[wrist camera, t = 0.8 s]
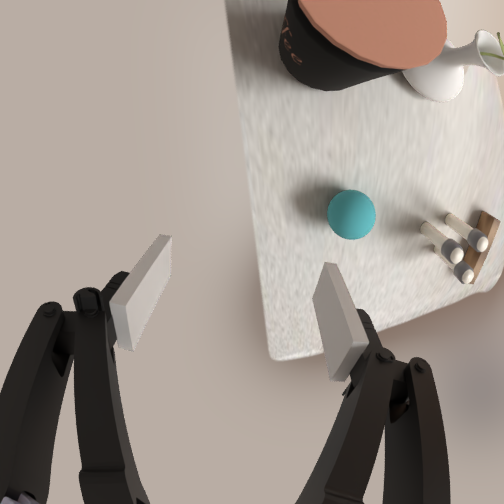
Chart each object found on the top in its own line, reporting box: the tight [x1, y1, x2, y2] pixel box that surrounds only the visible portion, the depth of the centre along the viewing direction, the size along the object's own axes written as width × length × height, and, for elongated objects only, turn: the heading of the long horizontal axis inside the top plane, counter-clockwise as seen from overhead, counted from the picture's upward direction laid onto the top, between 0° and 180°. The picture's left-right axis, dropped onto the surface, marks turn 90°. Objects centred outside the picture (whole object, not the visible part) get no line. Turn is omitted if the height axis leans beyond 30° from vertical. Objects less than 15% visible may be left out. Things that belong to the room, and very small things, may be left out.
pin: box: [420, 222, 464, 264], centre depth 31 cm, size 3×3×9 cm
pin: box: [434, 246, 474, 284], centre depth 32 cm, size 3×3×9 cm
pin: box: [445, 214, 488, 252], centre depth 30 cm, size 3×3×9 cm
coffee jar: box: [279, 0, 447, 91], centre depth 17 cm, size 11×11×18 cm
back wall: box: [463, 211, 500, 284], centre depth 34 cm, size 12×2×4 cm, turn 170°
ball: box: [327, 190, 376, 240], centre depth 31 cm, size 6×6×6 cm
